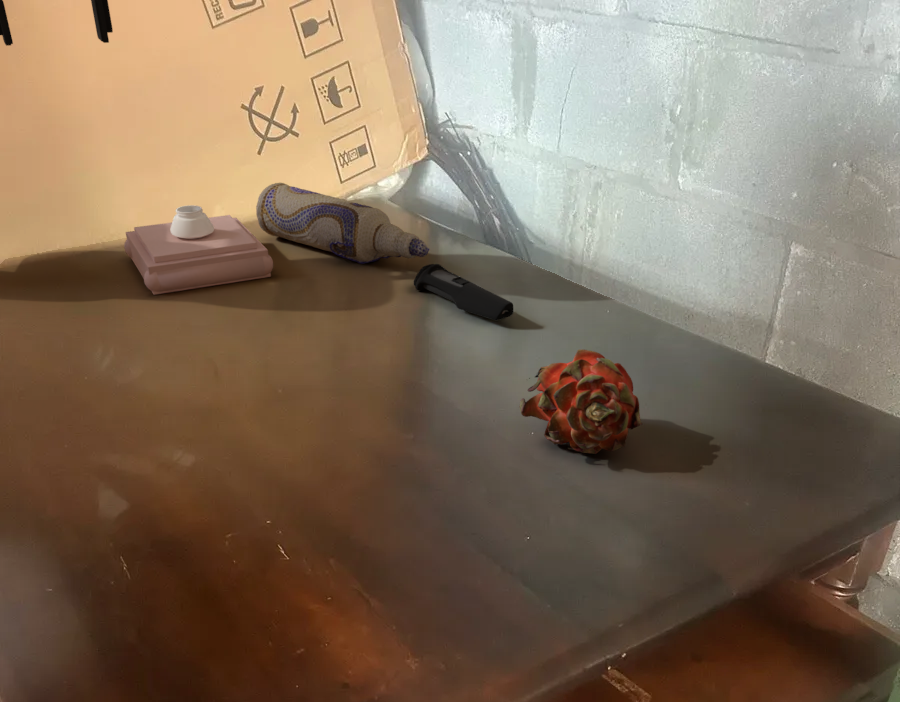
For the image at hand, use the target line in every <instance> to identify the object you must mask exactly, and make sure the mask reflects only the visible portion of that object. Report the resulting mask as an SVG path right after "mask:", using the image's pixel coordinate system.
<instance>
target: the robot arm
mask: <svg viewBox="0 0 900 702" xmlns="http://www.w3.org/2000/svg"><path fill="white" fill-rule="evenodd" d="M90 3H91V10H92V14H93V21H94V25H95V31H96V36H97V39H98V40H99V41H100V42H102V43H104V44H107V43H110V40H109V34H108V33H110V34H111V33H113V24H112V18H111V11H110V6H109V0H90ZM0 36H1V37H2V40H3V43H4V45H5V46H6V47H7V46H12V45H14V42H13V38H12V32H11V29H10V24H9V19H8V15H7V12H6V7H5V3H4V0H0Z"/></svg>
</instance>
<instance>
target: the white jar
mask: <svg viewBox="0 0 900 702" xmlns="http://www.w3.org/2000/svg"><path fill="white" fill-rule="evenodd" d="M203 211H204V209H203V207H202V206H199V205H195V204H193V205H192V204H191V205H189V204H188V205H181V206H178V207H177V208H176V209H175V213H176V214H174V216H173V218H172V225H171V228H170V231H171V233H172V235H174V236H177V237H179V238H184V239H196V238H201V237H205V236H207V235H209V234H211V233H212V232H213V231H214V226H213V225H212V223H211V222H210V220H209V218H210V217H209V216H208V215H207V213H205V212H203Z"/></svg>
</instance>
